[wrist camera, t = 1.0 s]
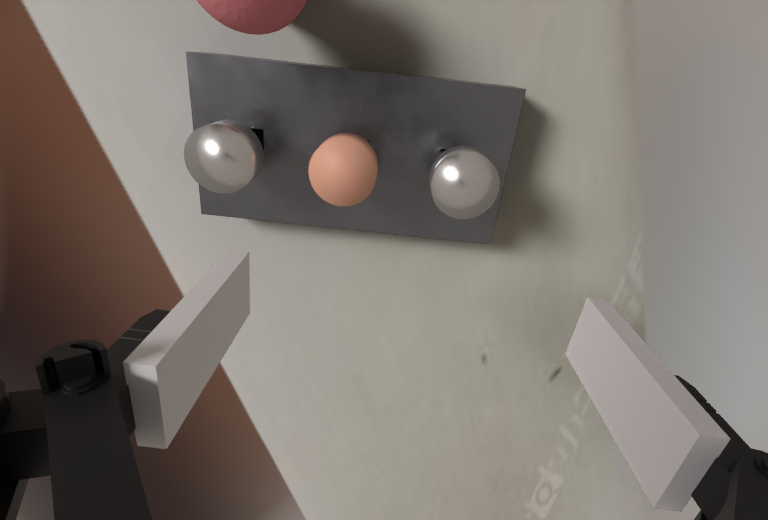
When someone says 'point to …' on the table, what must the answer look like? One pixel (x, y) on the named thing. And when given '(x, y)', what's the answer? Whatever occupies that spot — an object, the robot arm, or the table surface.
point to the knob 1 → (224, 156)
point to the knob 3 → (463, 182)
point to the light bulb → (254, 14)
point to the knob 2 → (343, 169)
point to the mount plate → (361, 117)
